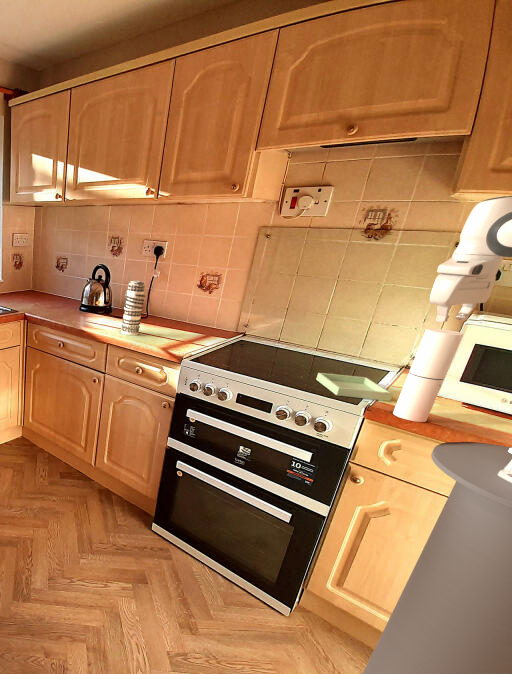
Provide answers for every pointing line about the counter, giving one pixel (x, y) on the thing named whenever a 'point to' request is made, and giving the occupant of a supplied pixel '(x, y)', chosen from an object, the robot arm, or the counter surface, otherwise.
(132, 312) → the leaning tower model
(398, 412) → the cylindrical container
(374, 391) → the tray
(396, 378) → the counter surface
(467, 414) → the counter surface
